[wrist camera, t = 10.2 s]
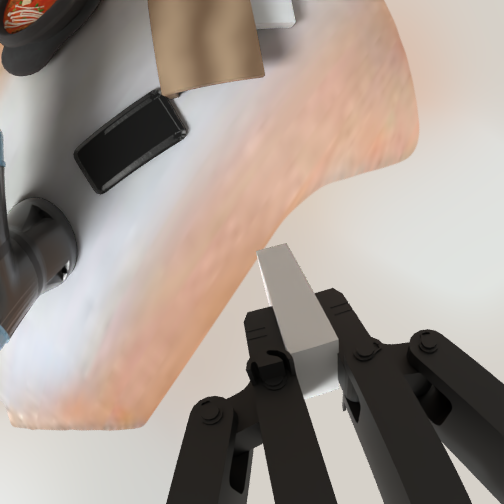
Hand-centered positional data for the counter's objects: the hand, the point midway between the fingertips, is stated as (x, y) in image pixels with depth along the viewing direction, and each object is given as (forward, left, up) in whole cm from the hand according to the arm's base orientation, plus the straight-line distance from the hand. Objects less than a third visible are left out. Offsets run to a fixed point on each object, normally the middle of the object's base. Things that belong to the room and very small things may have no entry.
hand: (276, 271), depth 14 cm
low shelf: (-1, +24, -25) cm, 34 cm away
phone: (-14, +8, -26) cm, 30 cm away
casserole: (-22, +35, -25) cm, 48 cm away
